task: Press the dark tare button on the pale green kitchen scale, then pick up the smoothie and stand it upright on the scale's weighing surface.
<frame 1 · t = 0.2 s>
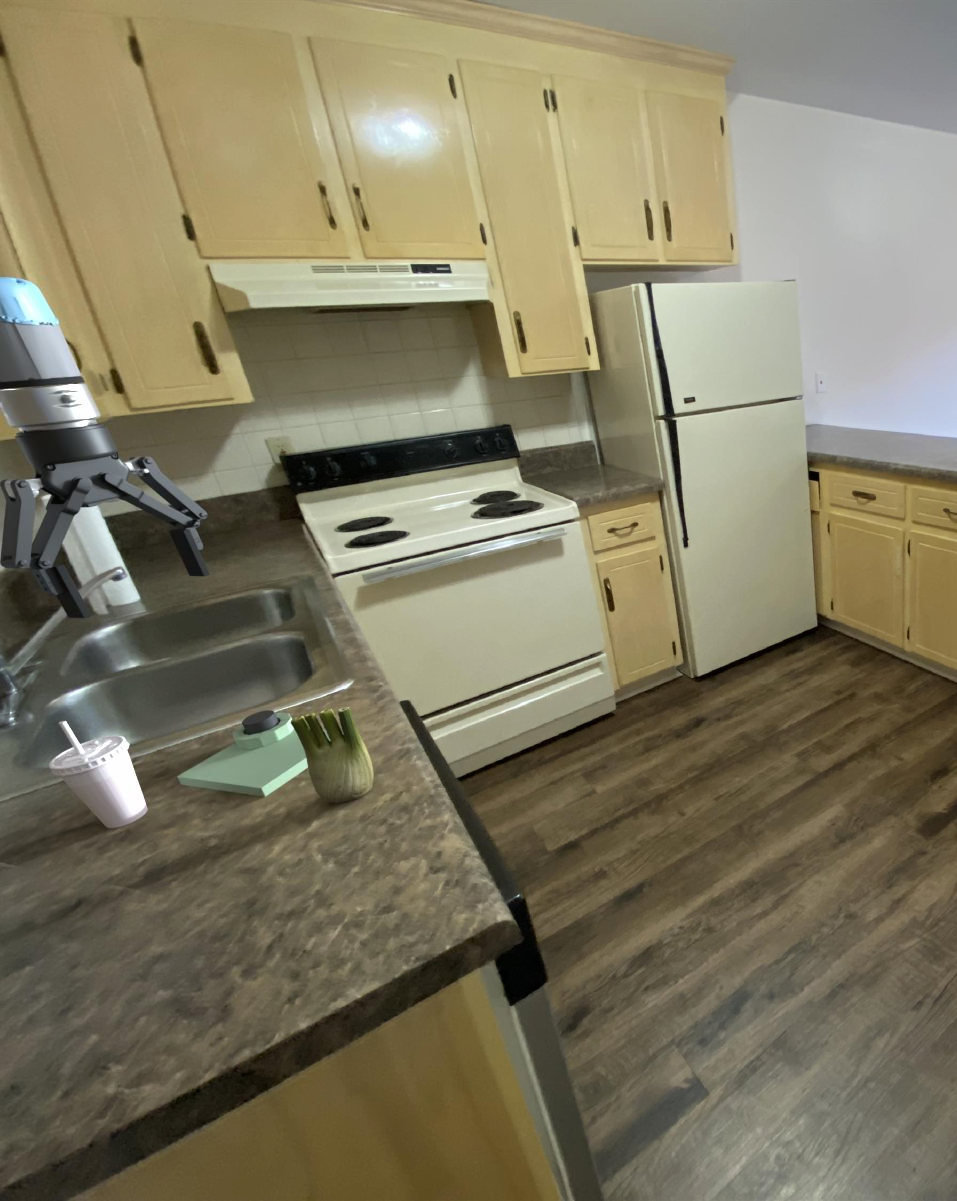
hand: (144, 594, 84), 23 cm above the countertop, tool pointing down, fingers open, 13 cm apart
scale: (268, 761, 87), on the countertop
fennel bulb: (351, 797, 79), on the countertop
tare button: (260, 722, 90), point 4 cm above the countertop, slide at 0.1 cm
smoothie: (128, 819, 78), on the countertop
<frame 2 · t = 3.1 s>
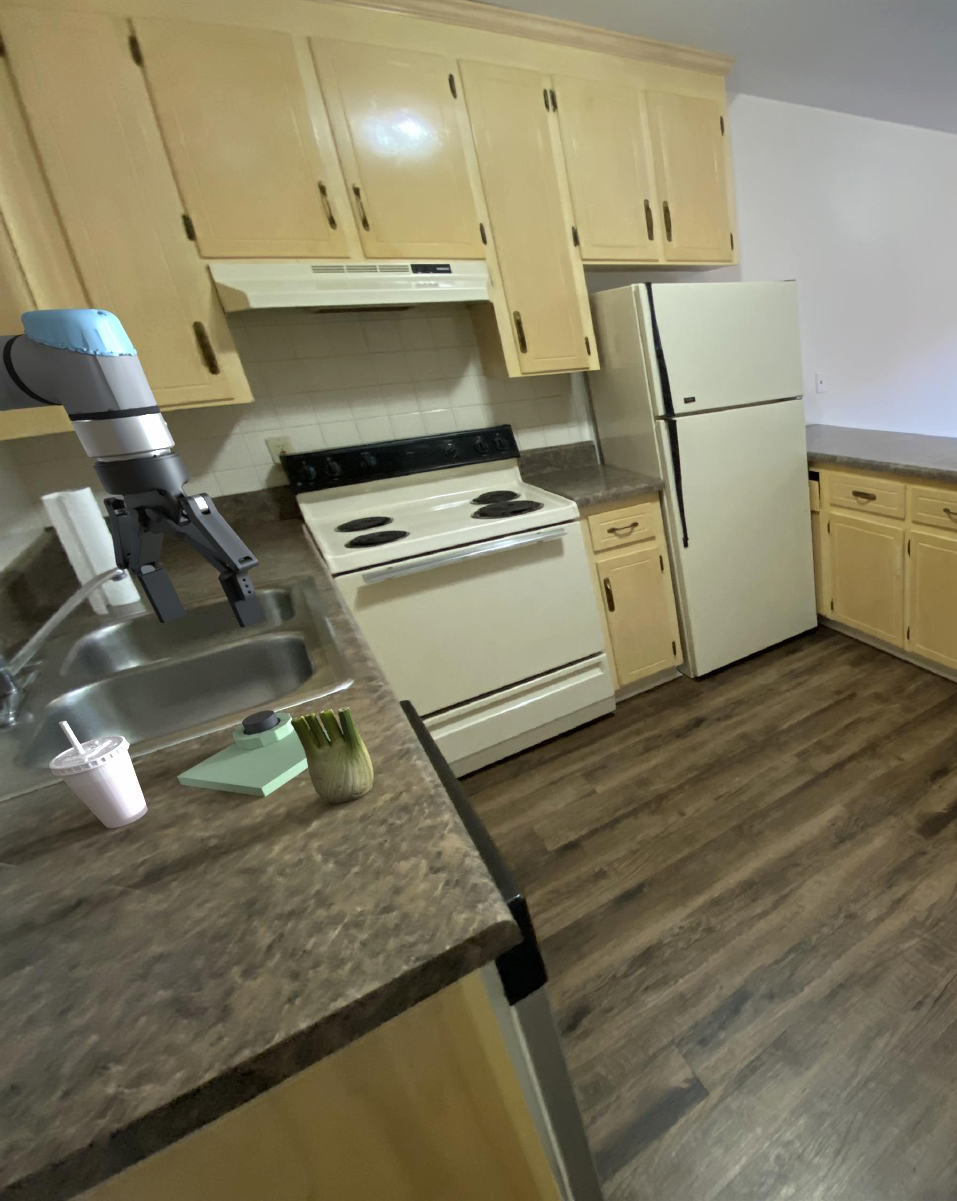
hand: (213, 620, 84), 19 cm above the countertop, tool pointing down, fingers open, 13 cm apart
nothing on the countertop moved.
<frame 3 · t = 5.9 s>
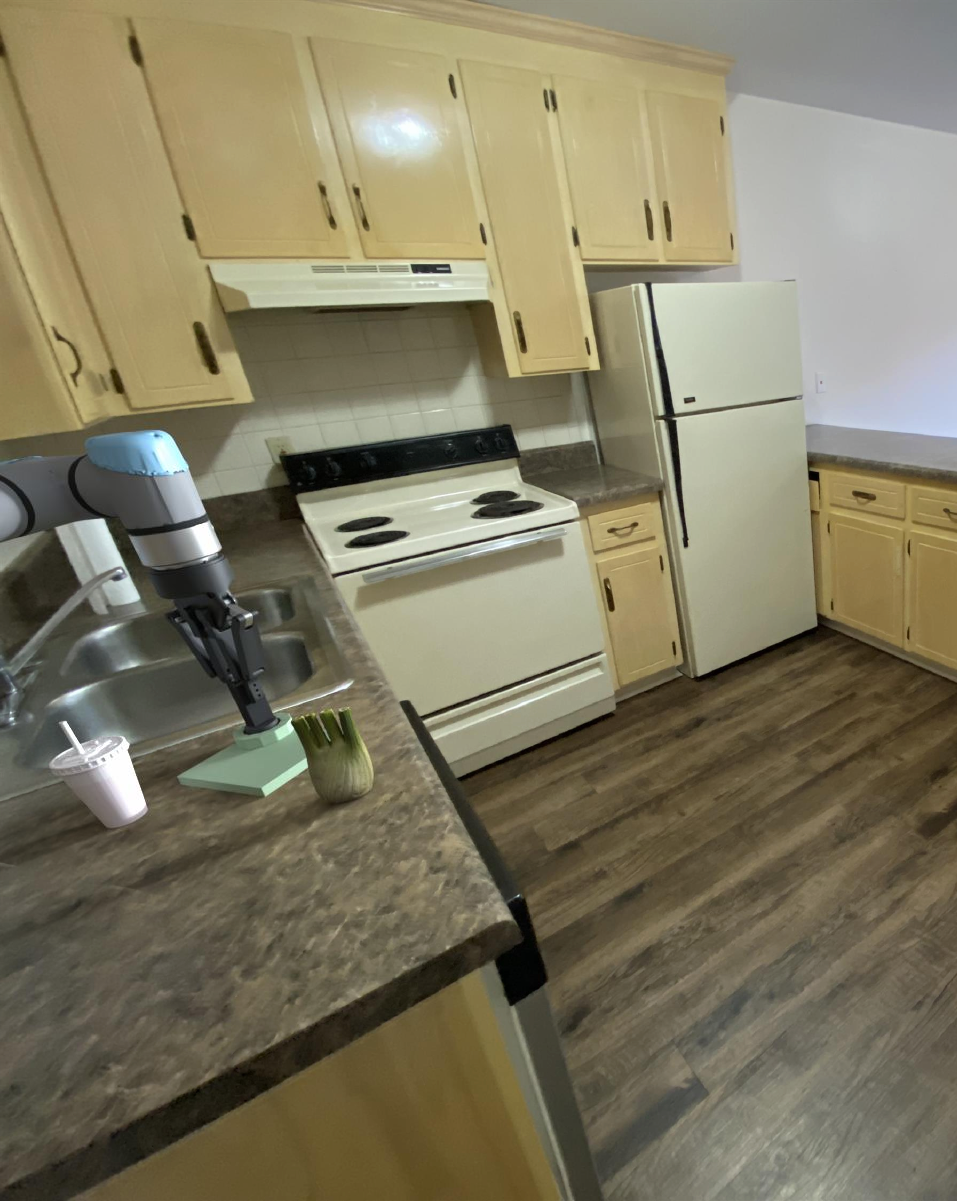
hand: (260, 720, 90), 4 cm above the countertop, tool pointing down, fingers closed
tare button: (263, 727, 90), point 3 cm above the countertop, slide at -0.7 cm, touching gripper
everything else where it was.
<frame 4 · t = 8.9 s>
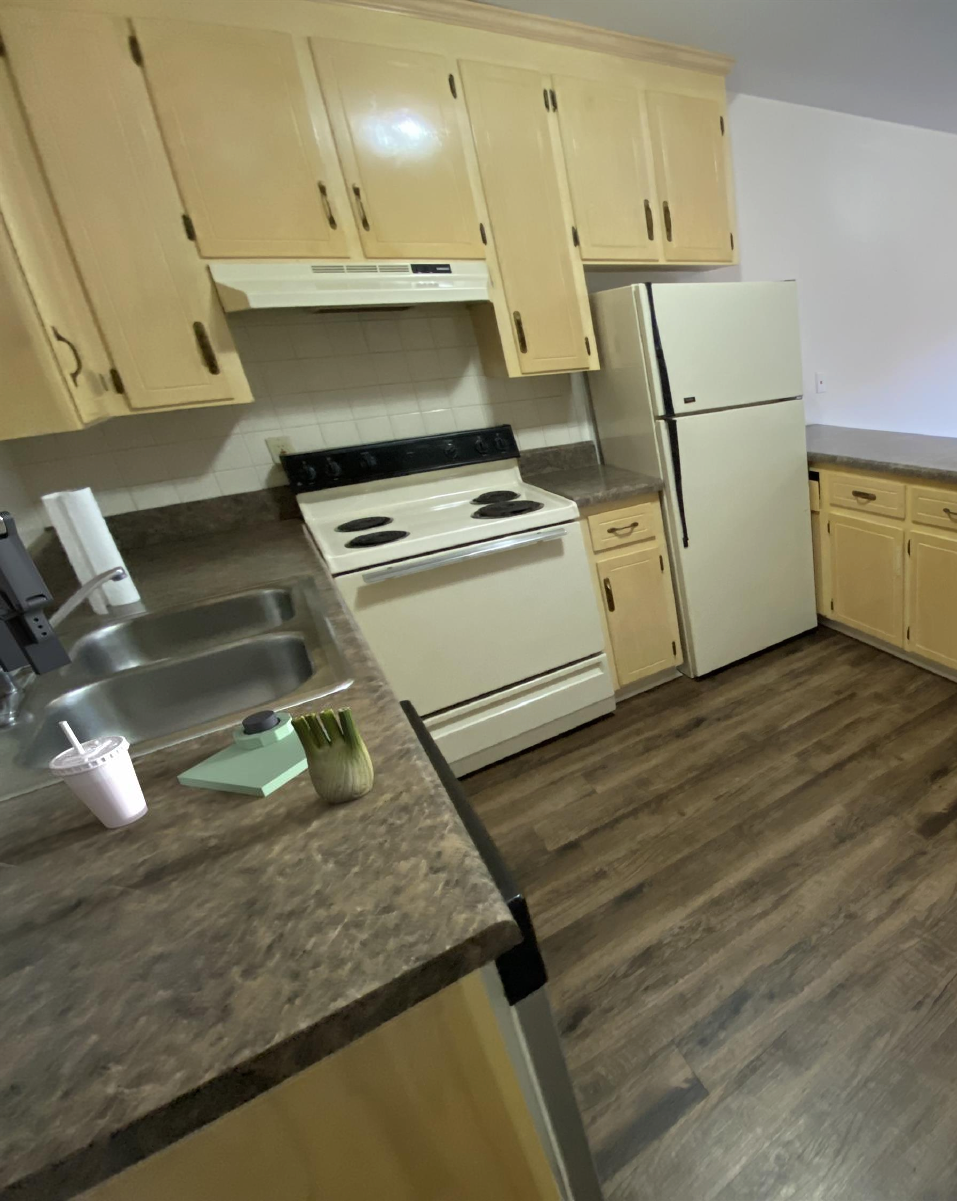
hand: (38, 666, 70), 21 cm above the countertop, tool pointing down, fingers open, 4 cm apart
tare button: (260, 722, 90), point 4 cm above the countertop, slide at 0.1 cm
everything else where it was.
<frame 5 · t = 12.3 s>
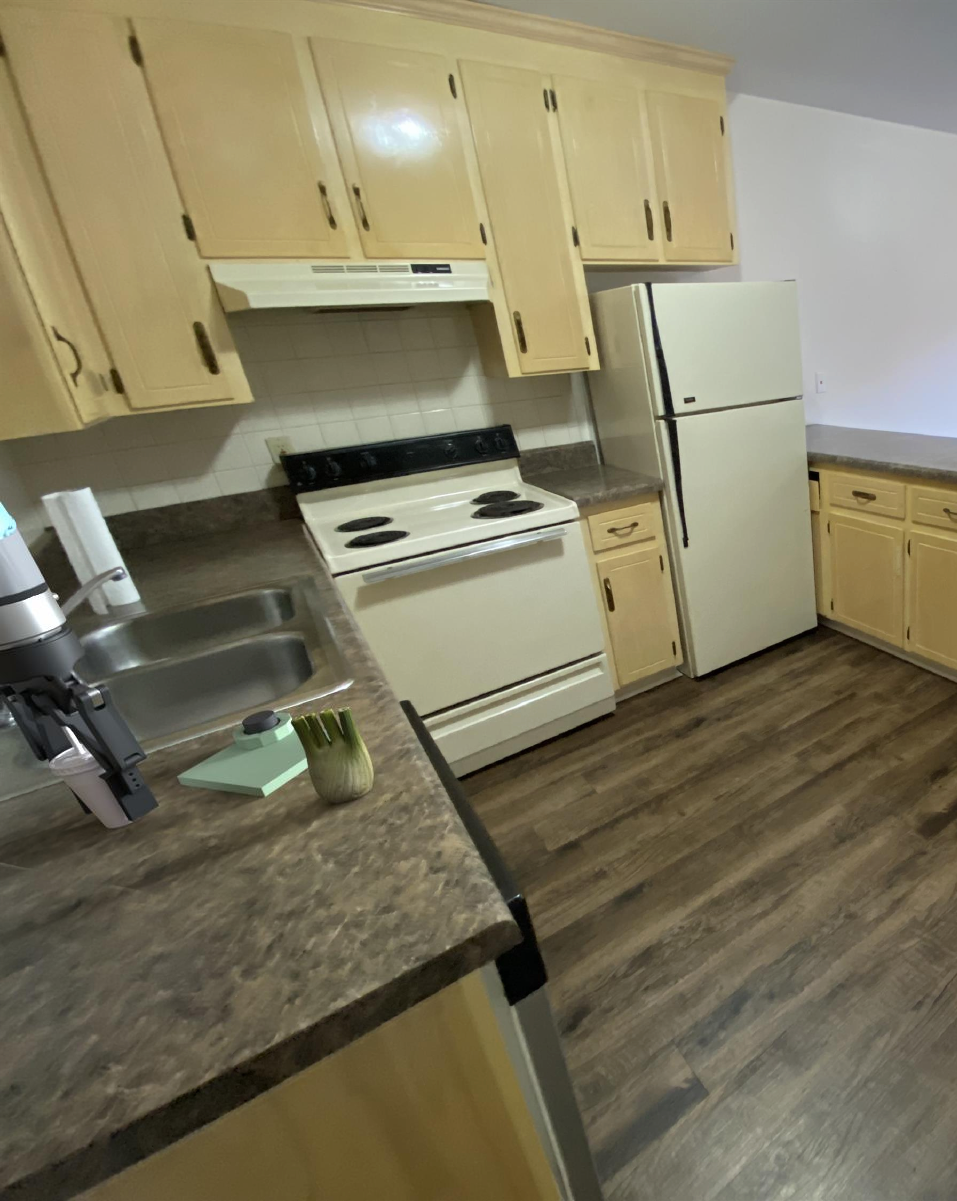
hand: (122, 809, 78), 1 cm above the countertop, tool pointing down, fingers closed on smoothie, 6 cm apart
smoothie: (128, 819, 78), on the countertop, touching gripper
everything else where it was.
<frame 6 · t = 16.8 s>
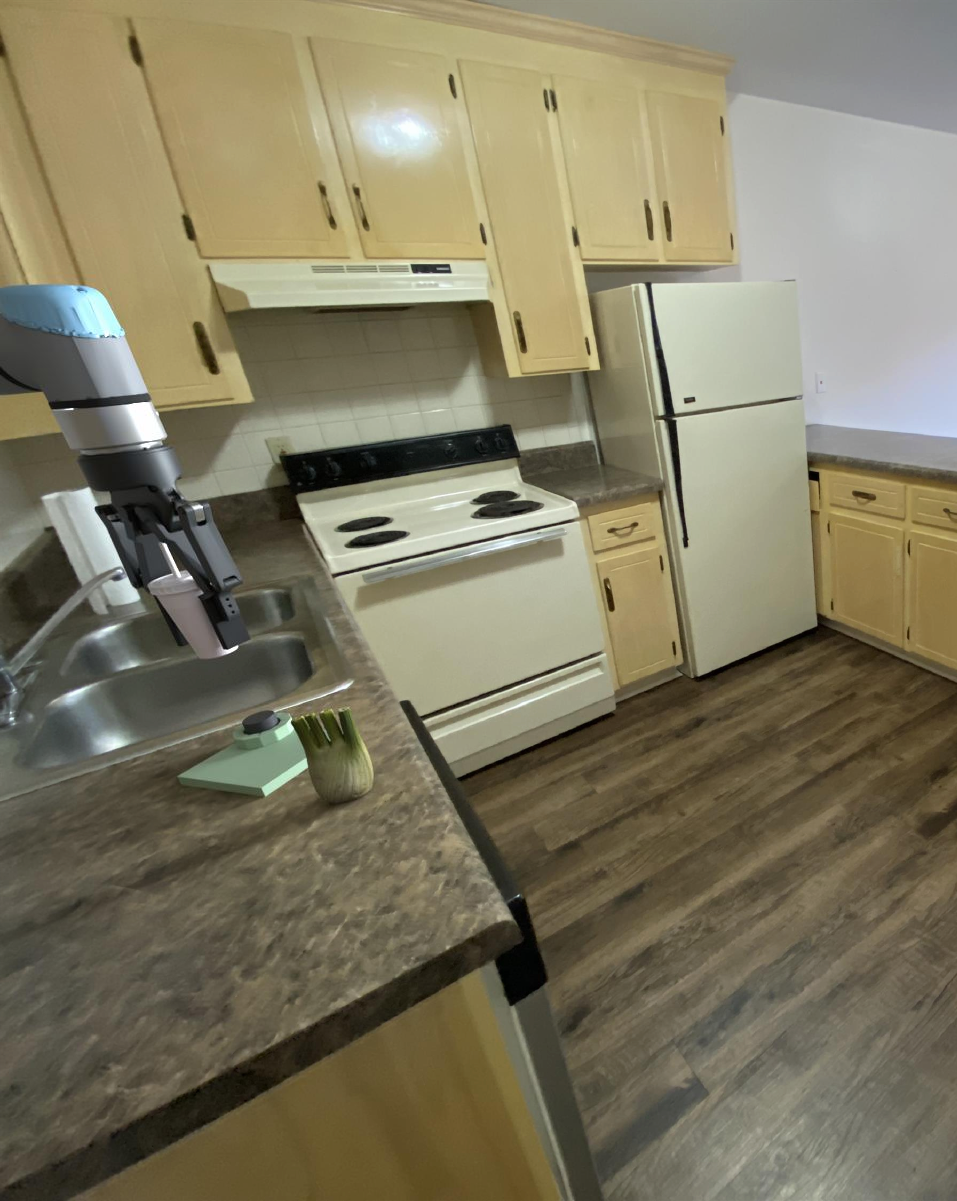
hand: (214, 642, 78), 19 cm above the countertop, tool pointing down, fingers closed on smoothie, 6 cm apart
smoothie: (219, 653, 78), point 17 cm above the countertop, touching gripper
everything else where it was.
when the fingers open (3 cm above the countertop, at t = 21.5 s): smoothie stays where it is, resting on scale.
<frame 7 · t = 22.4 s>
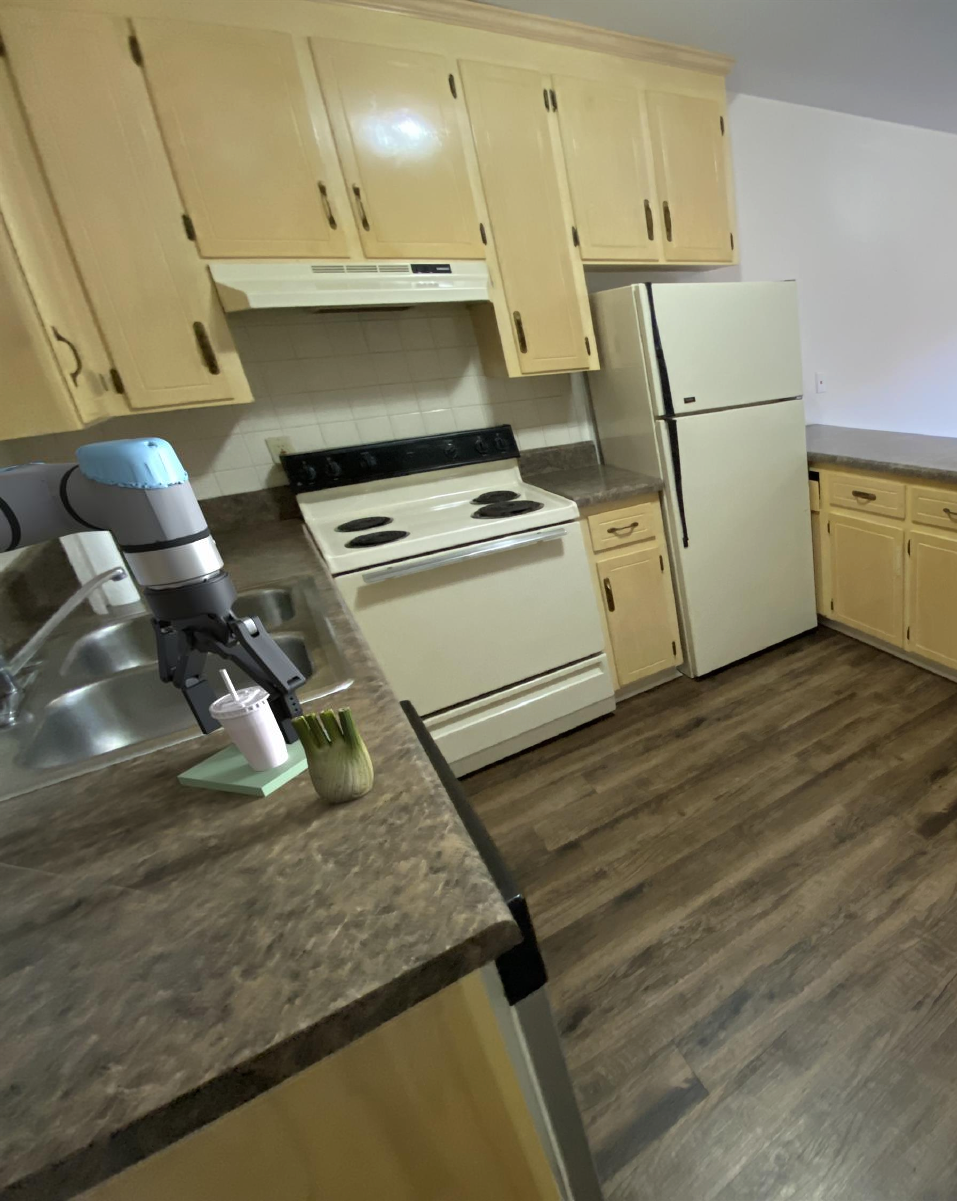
hand: (256, 733, 83), 6 cm above the countertop, tool pointing down, fingers open, 13 cm apart
smoothie: (271, 763, 85), point 1 cm above the countertop, touching scale
everything else where it was.
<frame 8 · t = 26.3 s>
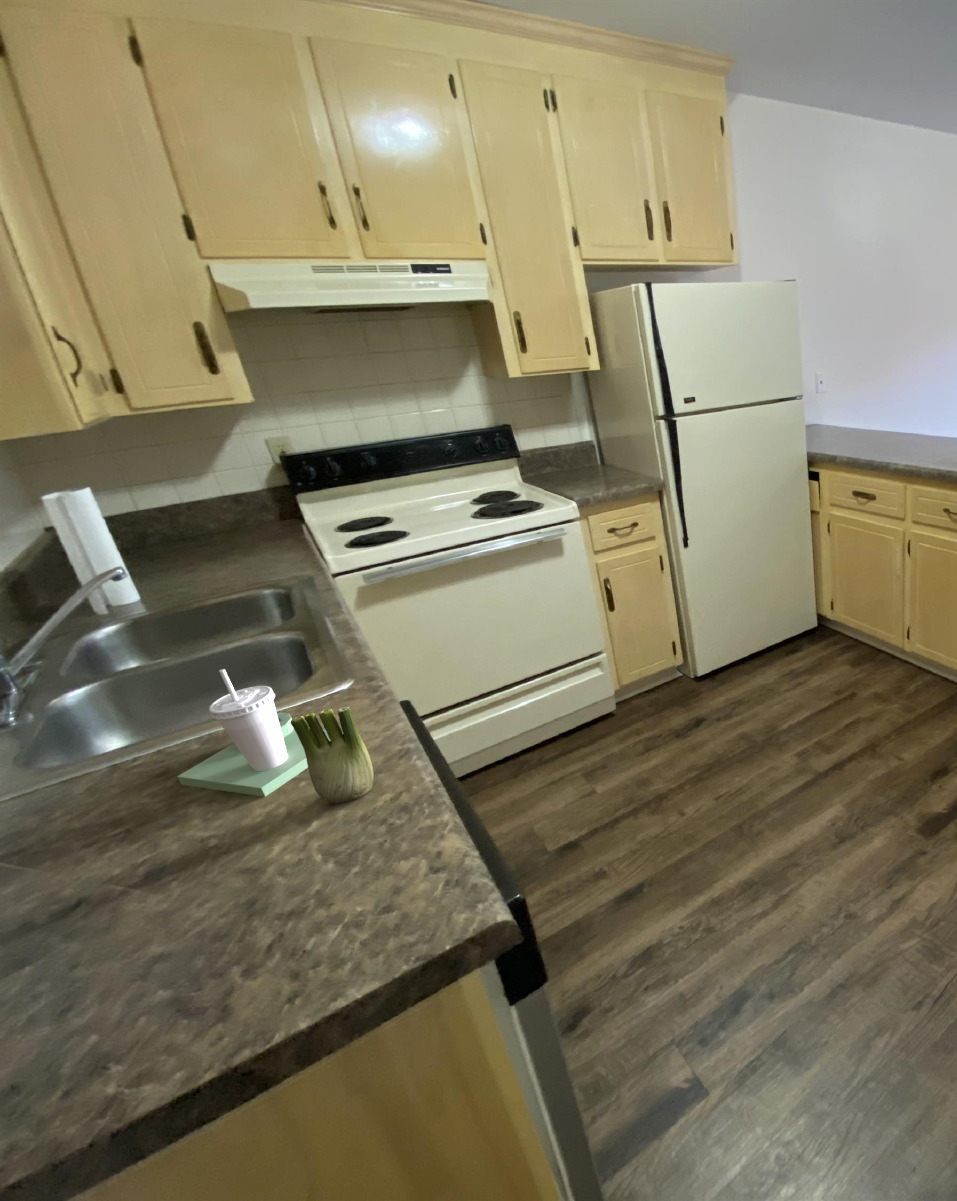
nothing on the countertop moved.
at the end: tare button pushed in 0.8 cm at the most during the clip, back to where it started at the end; smoothie inside the target area on the scale (1.1 cm from its centre), point 1.2 cm above the scale's base; smoothie touching scale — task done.
